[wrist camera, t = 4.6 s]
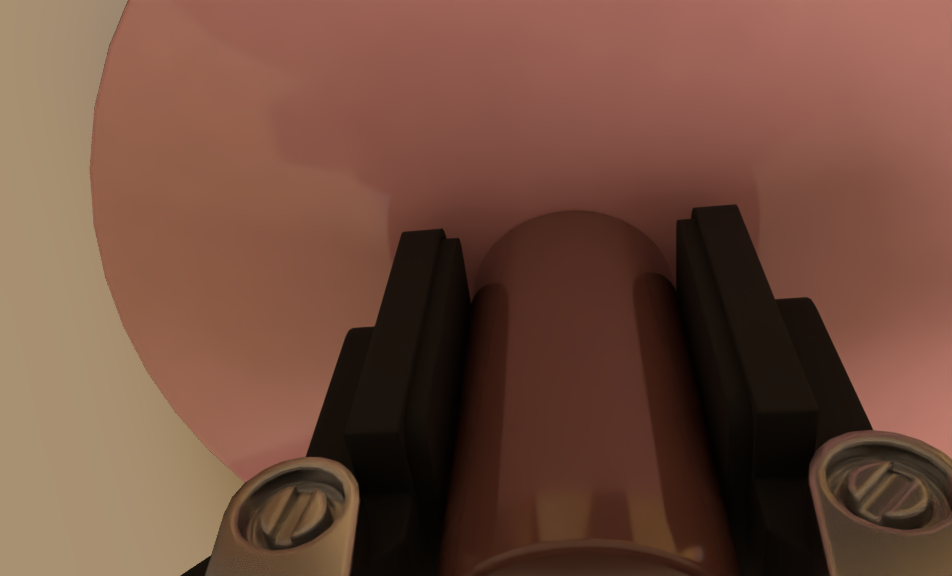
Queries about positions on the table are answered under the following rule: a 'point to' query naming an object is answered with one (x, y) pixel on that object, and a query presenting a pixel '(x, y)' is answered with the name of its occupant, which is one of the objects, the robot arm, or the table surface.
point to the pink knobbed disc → (527, 231)
